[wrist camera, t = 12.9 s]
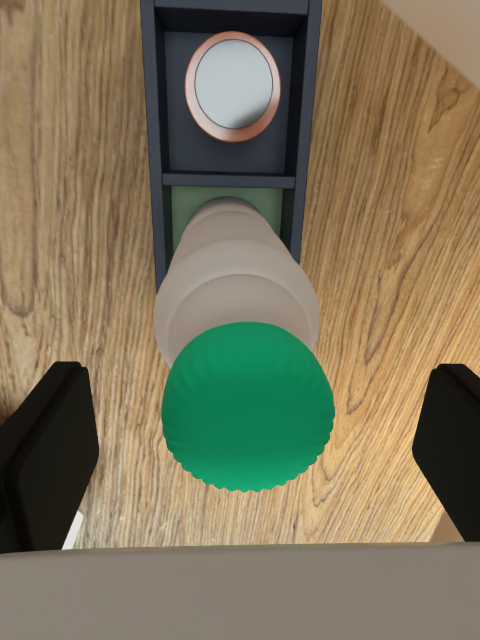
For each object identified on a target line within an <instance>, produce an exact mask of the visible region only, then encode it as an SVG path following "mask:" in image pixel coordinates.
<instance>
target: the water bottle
mask: <svg viewBox="0 0 480 640" xmlns="http://www.w3.org/2000/svg"><path fill="white" fill-rule="evenodd" d="M319 323H320V314H319V305H318V300H317V296H316V293H315V290H314V288H313V286H312V284H311V282H310V280H309V278H308V276H307V275H306V273H305V272H304V271H303V269H302V268H301V267H300V266H299V265H298V263H297V262H296V261H295V260H293V258H292V256H291V255H290V253H289V251H288V250H287V248H286V247H285V245H284V244H283V243H282V241H281V240H280V239H279V237H278V236H277V235H276V234H275V233H274V231H273V230H272V228H271V226H270V225H269V223H268V222H267V221H266V219H265V218H264V216H263V215H262V213H261V212H260V211H259V210H258V209H257V208H256V207H255V206H254V205H252V204H251V203H249V202H247V201H245V200H243V199H240V198H237V197H230V196H224V197H217V198H214V199H211V200H209V201H207V202H205V203H203V204H202V205H200V206H199V207H198V208H197V209H196V210H195V211H194V212H193V214H192V215H191V216H190V218H189V220H188V222H187V224H186V227H185V230H184V232H183V235H182V237H181V240H180V244H179V245H178V247H177V249H176V251H175V254H174V256H173V258H172V261H171V264H170V267H169V270H168V273H167V275H166V277H165V278H164V280H163V282H162V284H161V286H160V288H159V291H158V294H157V297H156V301H155V305H154V312H153V327H154V334H155V339H156V342H157V345H158V348H159V350H160V353H161V355H162V357H163V359H164V360H165V362H166V363H167V365H168V366H169V368H170V369H171V370H170V373H169V376H168V379H167V382H166V385H165V390H164V394H163V403H162V414H161V418H162V423H163V434H164V437H165V439H166V444H167V448H168V450H169V451H170V452H172V453H173V455H174V459H175V460H176V461H177V462H179V463H181V464H182V467H183V468H184V470H185V471H188V472H191V473H192V476H193V477H194V478H196V479H202V480H203V482H204V483H205V484H208V485H210V484H213V485H214V486H215V487H217V488H218V489H222V488H226V489H228V490H229V491H235V490H237V489H238V490H240V491H242V492H247V491H248V490H253V491H255V492H259V491H260V490H262V489H268V490H271V489H272V488H273V487H275V486H276V485H280V486H282V485H284V484H285V483H286V482H287V481H288V480H293V479H295V478H296V477H297V476H298V474H299V473H303V472H305V471H306V470H307V469H308V466H309V465H312V464H314V463H315V461H316V460H317V456H318V455H320V454H322V452H323V451H324V445H325V444H327V443H328V441H329V439H330V432H331V431H332V429H333V419H334V417H335V407H334V403H333V393H332V390H331V387H330V385H329V383H328V380H327V378H326V376H325V374H324V372H323V369H322V368H321V366H320V364H319V363H318V361H317V359H316V358H315V356H314V355H313V353H312V352H313V349H314V347H315V344H316V341H317V337H318V332H319Z"/></svg>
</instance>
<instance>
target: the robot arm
mask: <svg viewBox="0 0 480 640" xmlns="http://www.w3.org/2000/svg"><path fill="white" fill-rule="evenodd" d="M412 453H413V457H414V459H415V461H416V463H417V465H418V466H419V468H420V469H421V471H422V473H423V474H424V476H425V478H426V479H427V481H428V482H429V484H430V486H431V487H432V489H433V491H434V492H435V494H436V495H437V497H438V499H439V500H440V502H441V504H442V505H443V507H444V508H445V510H446V512H447V513H448V515H449V517H450V518H451V520H452V521H453V523H454V525H455V526H456V528H457V530H458V531H459V533H460V534H461V536H462V537H463V539H464V541H465V542H407V543H331V544H269V545H217V546H171V547H126V548H94V549H67V550H62V548H63V545H64V543H65V540H66V538H67V535H68V533H69V531H70V528H71V526H72V523H73V521H74V518H75V516H76V513H77V511H78V508H79V506H80V503H81V501H82V498H83V496H84V493H85V491H86V488H87V486H88V483H89V481H90V479H91V476H92V474H93V471H94V469H95V466H96V464H97V461H98V457H99V443H98V436H97V429H96V422H95V415H94V408H93V401H92V394H91V387H90V380H89V373H88V369H87V368H86V367H81V364H80V363H79V362H61V361H58V362H55V363H54V364H53V365H52V366H51V367H50V369H49V370H48V371H47V372H46V374H45V375H44V376H43V377H42V379H41V380H40V381H39V382H38V384H37V385H36V386H35V387H34V389H33V390H32V391H31V392H30V394H29V395H28V396H27V398H26V399H25V400H24V401H23V403H22V404H21V405H20V406H19V408H18V409H17V410H16V411H15V412H14V413H13V414H12V415H11V416H10V417H9V418H8V419H7V421H6V422H5V423H4V424H3V426H2V427H1V428H0V640H480V378H479V377H478V376H477V375H476V374H475V373H474V372H472V371H471V370H470V369H469V368H468V367H467V366H466V365H464V364H440V365H438V367H437V369H433V370H432V371H431V374H430V377H429V381H428V385H427V389H426V393H425V397H424V401H423V405H422V409H421V413H420V417H419V421H418V425H417V429H416V433H415V437H414V441H413V445H412Z"/></svg>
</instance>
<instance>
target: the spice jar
mask: <svg viewBox="0 0 480 640" xmlns="http://www.w3.org/2000/svg"><path fill="white" fill-rule="evenodd" d="M184 91H185V98H186V103H187V106H188V109H189V111H190V113H191V115H192V117H193V119H194V120H195V122H196V123H197V125H198V126H199V128H200V129H201V131H202V132H203V133H204V134H205V135H206V136H207V137H208V138H209V139H211V140H212V141H214V142H216V143H218V144H222V145H236V144H239V143H242V142H244V141H247V140H249V139H251V138H253V137H255V136H257V135H258V134H260V133H261V132H262V131H263V130H264V129H265V128H266V127H267V126H268V125H269V124H270V122H271V121H272V119H273V117H274V115H275V113H276V111H277V108H278V106H279V102H280V96H281V79H280V73H279V69H278V66H277V64H276V61H275V59H274V57H273V56H272V54H271V53H270V51H269V50H268V49H267V48H266V46H265V45H264V44H263V43H261V42H260V41H259V40H258V39H256V38H255V37H253V36H251V35H249V34H246V33H243V32H238V31H226V32H221V33H218V34H215V35H213V36H211V37H210V38H208V39H207V40H205V41H204V42H203V43H202V44H201V45H200V46H199V47H198V48H197V49H196V51H195V52H194V53H193V55H192V57H191V59H190V61H189V63H188V66H187V70H186V73H185V80H184Z"/></svg>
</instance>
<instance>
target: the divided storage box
mask: <svg viewBox="0 0 480 640" xmlns="http://www.w3.org/2000/svg"><path fill="white" fill-rule="evenodd" d="M140 11H141V29H142V46H143V64H144V81H145V99H146V117H147V134H148V152H149V169H150V187H151V205H152V222H153V240H154V257H155V275H156V293H157V294H158V291H159V288H160V286H161V284H162V282H163V280H164V278H165V277H166V275H167V273H168V270H169V267H170V264H171V261H172V258H173V256H174V254H175V251H176V249H177V247H178V245H179V244H180V240H181V237H182V235H183V232H184V230H185V227H186V224H187V222H188V220H189V218H190V216H191V215H192V214H193V212H194V211H195V210H196V209H197V208H198V207H199V206H200V205H202V204H203V203H205V202H207V201H209V200H211V199H214V198H217V197H224V196H230V197H237V198H240V199H243V200H245V201H247V202H249V203H251V204H252V205H254V206H255V207H256V208H257V209H258V210H259V211H260V212H261V213H262V215H263V216H264V218H265V219H266V221H267V222H268V223H269V225H270V226H271V228H272V230H273V231H274V233H275V234H276V235H277V236H278V237H279V239H280V240H281V241H282V243H283V244H284V245H285V247H286V248H287V250H288V251H289V253H290V255H291V256H292V258H293V260H295V261H296V262H297V263H298V265H299V264H300V252H301V241H302V230H303V218H304V207H305V195H306V184H307V172H308V161H309V150H310V138H311V127H312V115H313V104H314V92H315V81H316V70H317V58H318V47H319V35H320V24H321V12H322V0H140ZM226 31H238V32H243V33H246V34H249V35H251V36H253V37H255V38H256V39H258V40H259V41H260V42H261V43H263V44H264V45H265V46H266V48H267V49H268V50H269V51H270V53H271V54H272V56H273V57H274V59H275V61H276V64H277V66H278V69H279V73H280V79H281V96H280V102H279V106H278V108H277V111H276V113H275V115H274V117H273V119H272V121H271V122H270V124H269V125H268V126H267V127H266V128H265V129H264V130H263V131H262V132H261V133H260V134H258V135H257V136H255V137H253V138H251V139H249V140H247V141H244V142H242V143H239V144H236V145H222V144H218V143H216V142H214V141H212V140H211V139H209V138H208V137H207V136H206V135H205V134H204V133H203V132H202V131H201V129H200V128H199V126H198V125H197V123H196V122H195V120H194V119H193V117H192V115H191V113H190V111H189V109H188V106H187V103H186V98H185V91H184V80H185V73H186V70H187V66H188V63H189V61H190V59H191V57H192V55H193V53H194V52H195V51H196V49H197V48H198V47H199V46H200V45H201V44H202V43H203V42H204V41H205V40H207V39H208V38H210V37H211V36H213V35H215V34H218V33H221V32H226Z"/></svg>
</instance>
